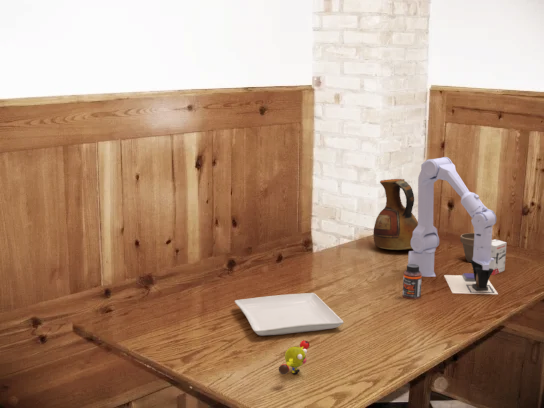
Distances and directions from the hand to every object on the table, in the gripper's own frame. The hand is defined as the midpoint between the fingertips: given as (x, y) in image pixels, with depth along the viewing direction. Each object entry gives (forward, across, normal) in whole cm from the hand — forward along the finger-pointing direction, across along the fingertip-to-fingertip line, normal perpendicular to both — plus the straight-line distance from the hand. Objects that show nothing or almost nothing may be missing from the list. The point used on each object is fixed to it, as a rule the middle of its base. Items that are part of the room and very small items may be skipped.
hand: (480, 284), depth 232 cm
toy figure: (+2, -68, +59) cm, 90 cm away
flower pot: (+2, +37, -5) cm, 37 cm away
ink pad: (+2, +11, 0) cm, 11 cm away
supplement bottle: (+2, -9, +24) cm, 26 cm away
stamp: (+2, 0, 0) cm, 2 cm away
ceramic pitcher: (+2, +52, +24) cm, 57 cm away
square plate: (+3, -32, +64) cm, 72 cm away
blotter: (+2, +5, +2) cm, 6 cm away
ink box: (+3, +21, -9) cm, 23 cm away
